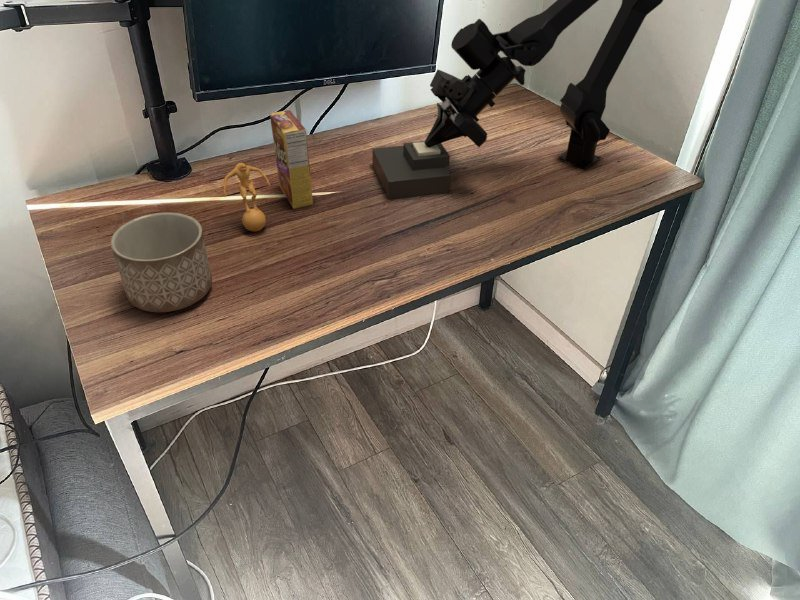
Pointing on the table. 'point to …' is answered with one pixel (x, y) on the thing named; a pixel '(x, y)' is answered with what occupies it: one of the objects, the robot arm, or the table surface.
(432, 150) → the cream block
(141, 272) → the planter
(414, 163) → the stepped base
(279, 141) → the candy box
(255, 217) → the figure on ball
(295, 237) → the table surface
